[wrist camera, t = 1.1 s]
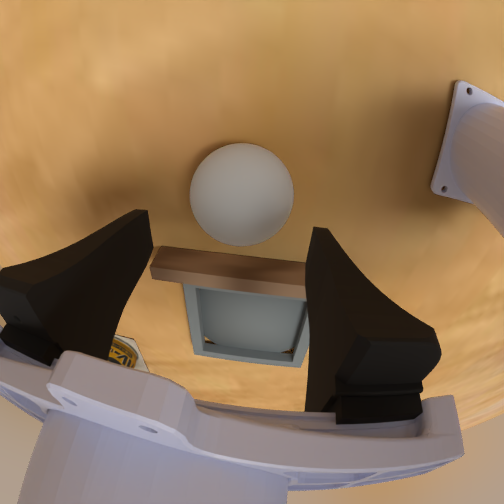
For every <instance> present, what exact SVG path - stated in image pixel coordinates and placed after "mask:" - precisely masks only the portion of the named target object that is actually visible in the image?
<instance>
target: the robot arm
mask: <svg viewBox="0 0 504 504" xmlns="http://www.w3.org/2000/svg"><path fill="white" fill-rule="evenodd" d="M467 88H469V94H467V91H466V90H467ZM443 186H445V188H444V190H441V188H442V187H443ZM430 187H431V190H432V191H433V192H434V193H435V194H437V195H441V196H445V197H449V198H453V199H457V200H460V201H464V202H468V203H471V204H475V206H476V207H477V208H478V209H479V210H480V211H481V212H482V213H483V214H484V215H485V216H486V218H487V219H488V220H489V221H490V222H491V223H492V225H493V226H494V227H495V228H496V229H497V230H498V232H499V233H500V234H501V235H502V237H503V238H504V102H503V101H501V100H500V99H498V98H496V97H494V96H492V95H491V94H489V93H487V92H485V91H483V90H481V89H479V88H477V87H475V86H473V85H471V84H469V83H467V82H465V81H461V80H459V81H457V82H456V83H455V87H454V93H453V98H452V104H451V109H450V114H449V118H448V123H447V127H446V132H445V136H444V140H443V144H442V147H441V151H440V155H439V159H438V162H437V166H436V169H435V172H434V176H433V179H432V182H431V186H430ZM152 250H153V242H152V236H151V230H150V223H149V217H148V210H137V209H136V210H133V211H131V212H129V213H127V214H125V215H123V216H122V217H120V218H118V219H116V220H115V221H113V222H111V223H110V224H108V225H106V226H105V227H103V228H101V229H100V230H98V231H96V232H94V233H93V234H91V235H89V236H87V237H86V238H84V239H82V240H80V241H78V242H76V243H74V244H72V245H70V246H68V247H66V248H64V249H62V250H59V251H57V252H54V253H52V254H49V255H47V256H44V257H41V258H38V259H36V260H32V261H29V262H26V263H22V264H18V265H14V266H10V267H5V268H3V269H2V270H1V271H0V314H1V316H2V317H3V319H4V320H5V321H6V323H7V324H6V325H5V327H4V328H3V327H2V326H1V325H0V395H1V396H2V397H4V398H5V399H7V400H8V401H9V402H11V403H12V404H14V405H15V406H17V407H18V408H20V409H21V410H23V411H24V412H26V413H27V414H29V415H31V416H32V417H34V418H35V419H37V420H39V421H40V422H42V423H44V424H43V426H42V429H41V431H40V434H39V436H38V439H37V442H36V445H35V447H34V450H33V453H32V456H31V459H30V462H29V465H28V468H27V471H26V474H25V478H24V481H23V484H22V488H21V491H20V495H19V499H18V503H17V504H286V503H287V492H288V491H304V490H305V491H306V490H325V489H338V488H347V487H355V486H363V485H370V484H376V483H382V482H388V481H393V480H398V479H403V478H408V477H412V476H417V475H421V474H425V473H428V472H430V471H432V470H435V469H437V468H439V467H441V466H444V465H446V464H448V463H450V462H452V461H454V460H456V459H458V458H460V457H462V456H463V455H464V448H463V441H462V435H461V430H460V424H459V419H458V414H457V410H456V405H455V401H454V397H453V395H445V396H438V397H431V398H427V399H424V400H422V401H421V399H420V394H419V393H421V392H422V391H423V385H422V380H423V379H424V378H425V377H426V376H427V375H428V374H429V373H430V372H431V371H432V370H433V369H434V368H435V366H436V365H437V363H438V362H439V360H440V358H441V355H442V354H441V348H440V345H439V342H438V339H437V336H436V333H435V331H434V328H432V327H431V326H429V325H427V324H426V323H424V322H422V321H420V320H419V319H417V318H415V317H414V316H412V315H411V314H409V313H408V312H406V311H405V310H404V309H402V308H401V307H399V306H398V305H397V304H395V303H394V302H393V301H392V300H390V299H389V298H388V297H387V296H386V295H384V294H383V293H382V292H381V291H380V290H379V289H378V288H377V287H375V286H374V285H373V284H372V283H371V282H370V281H369V280H368V279H367V278H366V277H365V276H364V274H363V273H362V272H361V271H360V270H359V269H358V268H357V266H356V265H355V264H354V263H353V262H352V261H351V259H350V258H349V257H348V256H347V254H346V253H345V252H344V250H343V249H342V248H341V246H340V245H339V243H338V242H337V241H336V239H335V238H334V236H333V235H332V234H331V232H330V231H329V230H328V229H327V228H319V227H313V232H312V236H311V241H310V246H309V251H308V255H307V260H306V264H305V291H306V301H307V310H308V321H309V336H310V338H309V364H308V380H307V392H306V402H305V411H304V412H296V411H281V410H269V409H259V408H250V407H242V406H234V405H227V404H220V403H214V402H208V401H202V400H197V399H193V397H192V396H191V395H190V393H189V392H188V391H187V390H186V389H185V388H184V387H183V386H181V385H179V384H177V383H176V382H174V381H172V380H170V379H168V378H165V377H162V376H159V375H156V374H153V373H150V372H146V371H142V370H138V369H134V368H130V367H126V366H123V365H119V364H116V363H112V362H109V361H108V357H109V353H110V349H111V345H112V342H113V338H114V335H115V332H116V329H117V326H118V323H119V320H120V317H121V315H122V312H123V309H124V307H125V305H126V303H127V301H128V299H129V297H130V295H131V293H132V292H133V290H134V288H135V286H136V284H137V282H138V280H139V279H140V277H141V275H142V273H143V271H144V269H145V268H146V266H147V263H148V261H149V258H150V256H151V253H152Z"/></svg>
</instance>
